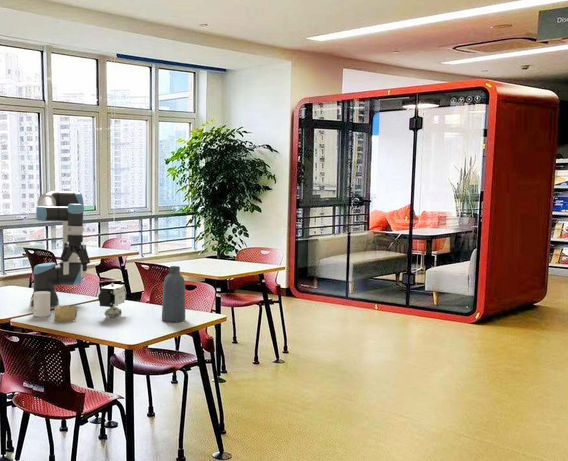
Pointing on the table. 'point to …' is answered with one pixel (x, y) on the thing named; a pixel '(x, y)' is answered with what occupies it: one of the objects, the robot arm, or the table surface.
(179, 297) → the gray bottle
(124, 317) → the table surface
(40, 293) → the mug
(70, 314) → the tan block
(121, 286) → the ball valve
